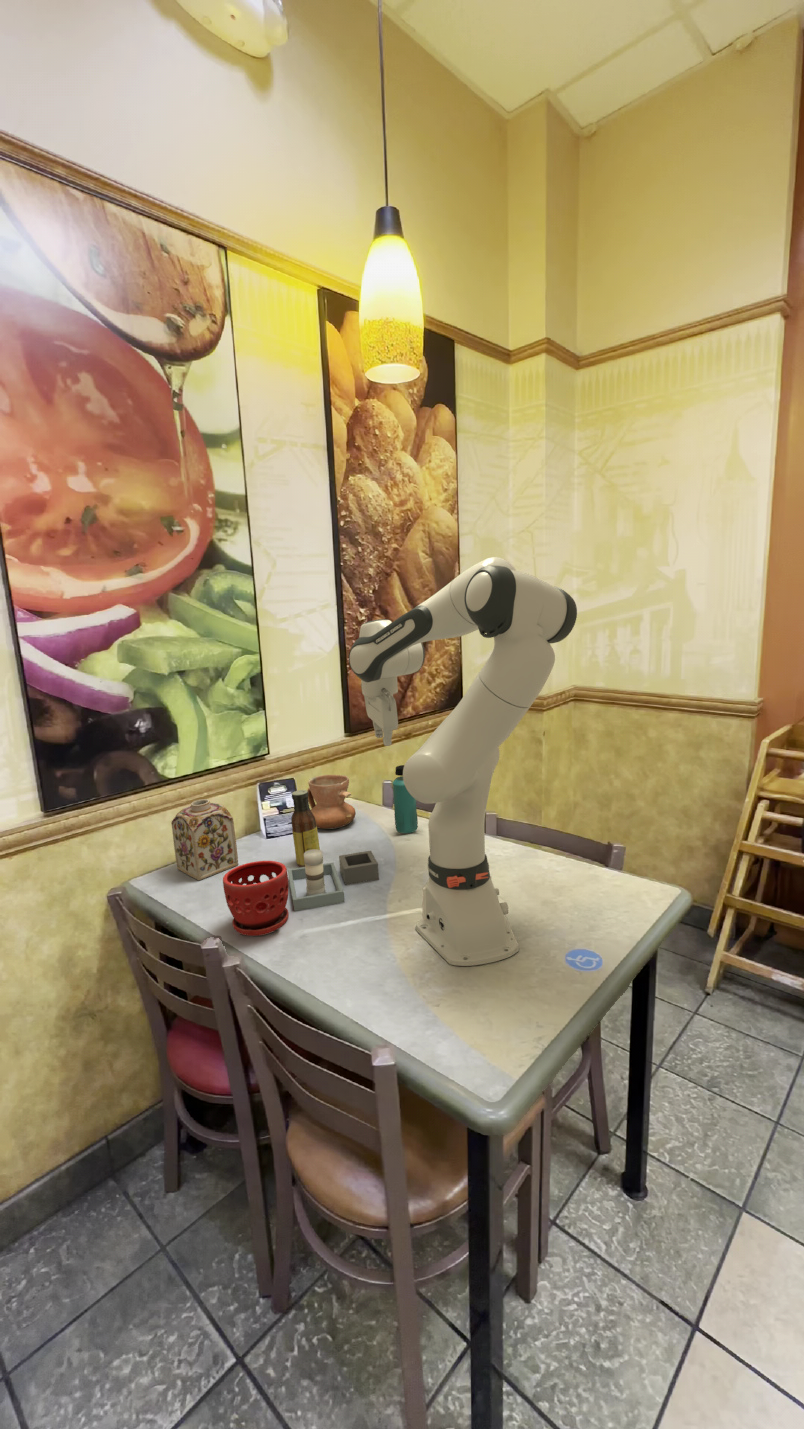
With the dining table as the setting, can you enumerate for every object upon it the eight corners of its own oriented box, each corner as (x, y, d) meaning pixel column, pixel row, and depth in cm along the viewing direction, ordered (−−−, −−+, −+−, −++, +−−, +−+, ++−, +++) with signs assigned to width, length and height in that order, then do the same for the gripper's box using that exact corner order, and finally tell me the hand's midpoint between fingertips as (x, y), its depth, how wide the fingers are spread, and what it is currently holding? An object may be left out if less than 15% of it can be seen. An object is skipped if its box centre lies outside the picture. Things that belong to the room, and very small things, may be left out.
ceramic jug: (369, 822, 184) (365, 776, 181) (333, 837, 173) (329, 789, 171) (329, 812, 196) (325, 769, 193) (293, 825, 185) (289, 780, 183)
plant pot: (303, 913, 132) (298, 861, 130) (268, 946, 120) (262, 889, 118) (253, 905, 137) (247, 855, 135) (215, 935, 125) (208, 881, 123)
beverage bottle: (422, 835, 171) (418, 767, 167) (400, 840, 169) (395, 770, 165) (413, 828, 177) (409, 761, 173) (391, 832, 175) (387, 765, 171)
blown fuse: (326, 896, 137) (323, 855, 135) (308, 900, 136) (304, 858, 134) (324, 888, 141) (321, 848, 139) (306, 891, 140) (302, 851, 138)
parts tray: (345, 906, 134) (343, 891, 133) (294, 915, 131) (293, 900, 131) (334, 875, 149) (333, 862, 149) (289, 883, 147) (287, 869, 146)
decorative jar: (240, 865, 158) (232, 799, 155) (198, 882, 150) (189, 813, 147) (216, 854, 167) (208, 791, 163) (176, 869, 158) (167, 803, 155)
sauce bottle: (323, 860, 158) (317, 787, 155) (318, 871, 152) (311, 795, 148) (299, 861, 159) (292, 788, 155) (292, 871, 153) (285, 796, 149)
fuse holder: (379, 883, 144) (377, 863, 143) (345, 889, 142) (344, 869, 141) (372, 869, 151) (370, 850, 151) (340, 874, 150) (338, 855, 149)
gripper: (402, 690, 140) (406, 748, 143) (383, 680, 160) (386, 731, 162) (376, 693, 139) (379, 752, 141) (359, 682, 158) (363, 734, 161)
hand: (383, 741), depth 152 cm, fingers open, 8 cm apart
